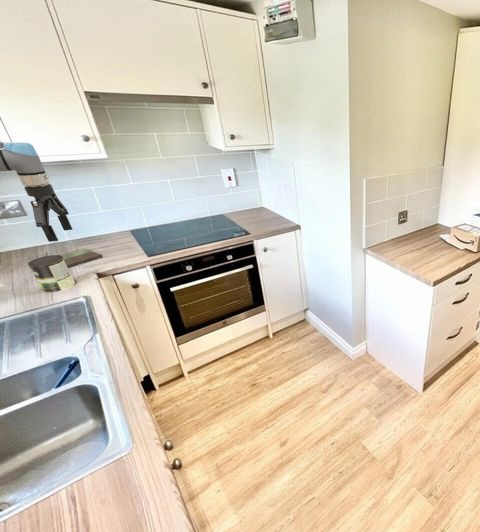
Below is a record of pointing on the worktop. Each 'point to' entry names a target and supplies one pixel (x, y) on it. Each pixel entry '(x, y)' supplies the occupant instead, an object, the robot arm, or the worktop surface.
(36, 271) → the coffee can
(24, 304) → the worktop surface
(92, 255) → the serving board
